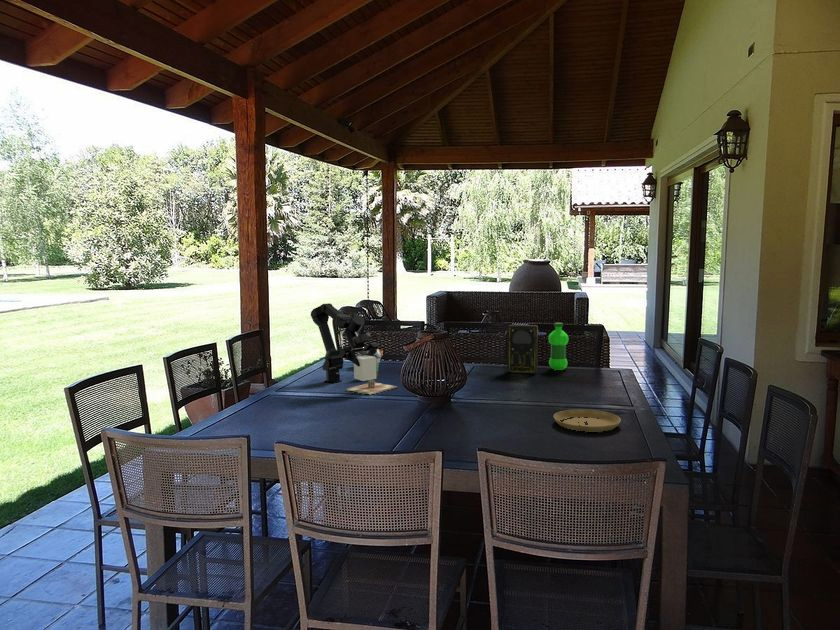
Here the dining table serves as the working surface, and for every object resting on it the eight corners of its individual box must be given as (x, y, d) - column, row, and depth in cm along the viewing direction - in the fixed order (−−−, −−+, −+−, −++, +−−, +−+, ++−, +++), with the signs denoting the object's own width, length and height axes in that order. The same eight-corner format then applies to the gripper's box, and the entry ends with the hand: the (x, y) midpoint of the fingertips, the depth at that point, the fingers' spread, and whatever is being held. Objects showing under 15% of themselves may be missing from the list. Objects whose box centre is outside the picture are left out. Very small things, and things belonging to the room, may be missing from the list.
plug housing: (362, 381, 286) (362, 359, 285) (354, 378, 292) (353, 357, 291) (376, 378, 291) (376, 357, 289) (367, 376, 296) (367, 355, 295)
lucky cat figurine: (367, 363, 363) (378, 342, 360) (379, 374, 355) (390, 352, 353) (348, 359, 352) (359, 338, 349) (360, 370, 344) (372, 348, 341)
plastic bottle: (544, 368, 339) (545, 322, 337) (562, 367, 343) (562, 321, 340) (554, 372, 330) (554, 324, 327) (571, 370, 333) (572, 323, 330)
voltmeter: (506, 373, 329) (506, 325, 326) (509, 370, 337) (509, 323, 335) (536, 374, 325) (537, 326, 322) (538, 371, 333) (539, 324, 330)
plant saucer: (571, 413, 251) (571, 405, 251) (630, 423, 236) (631, 415, 236) (541, 427, 233) (541, 419, 232) (604, 439, 218) (604, 430, 217)
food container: (369, 381, 316) (368, 361, 315) (360, 379, 320) (359, 360, 319) (385, 376, 326) (384, 357, 325) (376, 375, 329) (375, 356, 328)
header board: (345, 390, 295) (345, 381, 295) (372, 384, 309) (372, 375, 308) (370, 395, 285) (369, 386, 284) (397, 388, 298) (396, 379, 298)
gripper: (342, 329, 286) (355, 356, 279) (376, 325, 297) (390, 352, 290) (333, 344, 293) (346, 371, 286) (367, 340, 304) (380, 366, 297)
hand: (366, 364), depth 290 cm, fingers closed on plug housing, 7 cm apart
